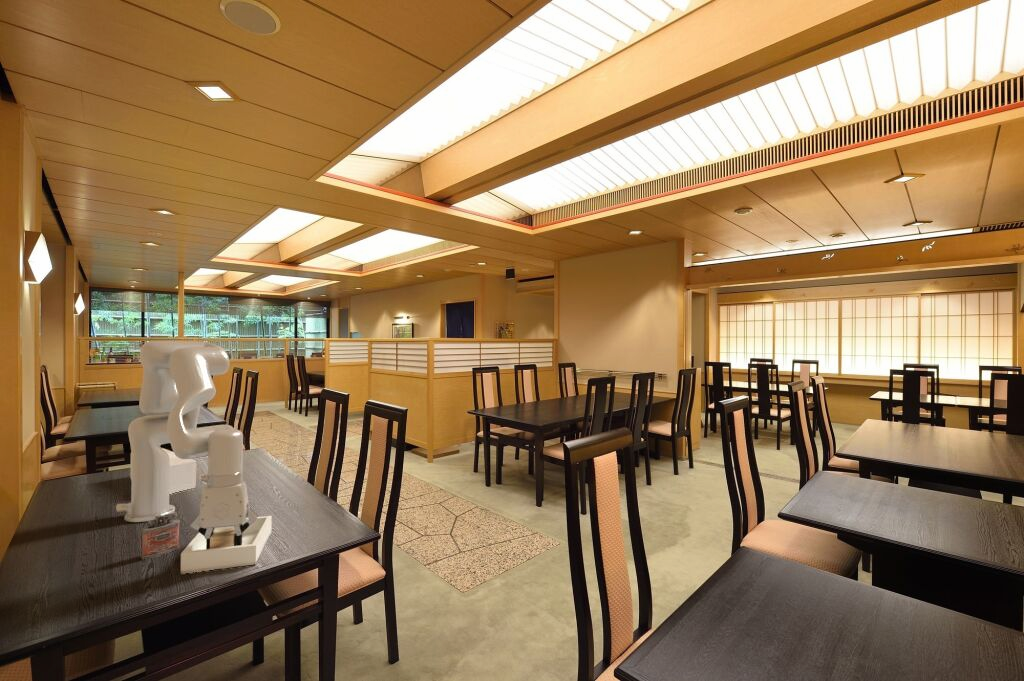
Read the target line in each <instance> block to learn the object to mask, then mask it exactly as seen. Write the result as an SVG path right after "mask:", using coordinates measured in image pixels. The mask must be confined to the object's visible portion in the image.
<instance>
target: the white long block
mask: <svg viewBox="0 0 1024 681" xmlns="http://www.w3.org/2000/svg"><path fill="white" fill-rule="evenodd" d="M161 448H162V449H163V450H164V451H165V452H166V453H167V454H168V455H169V458H170V478H169V494H170V495H173V494H172V493H175V492H179V491H183V490H187V489H191V488H195V487H196V486H197V482H196V481H197V460H195V459H194V458H192V459H180V458H178V457H177V456H176V455H175V454H174V452H173V450H172V451H171V450H169V449H166V448H163V447H161ZM129 470H130V473H129V476H130V479H131V480H130V481H132V454H131V453H130V468H129ZM183 492H184V491H183ZM179 493H180V492H179ZM175 494H176V493H175Z"/></svg>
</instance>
